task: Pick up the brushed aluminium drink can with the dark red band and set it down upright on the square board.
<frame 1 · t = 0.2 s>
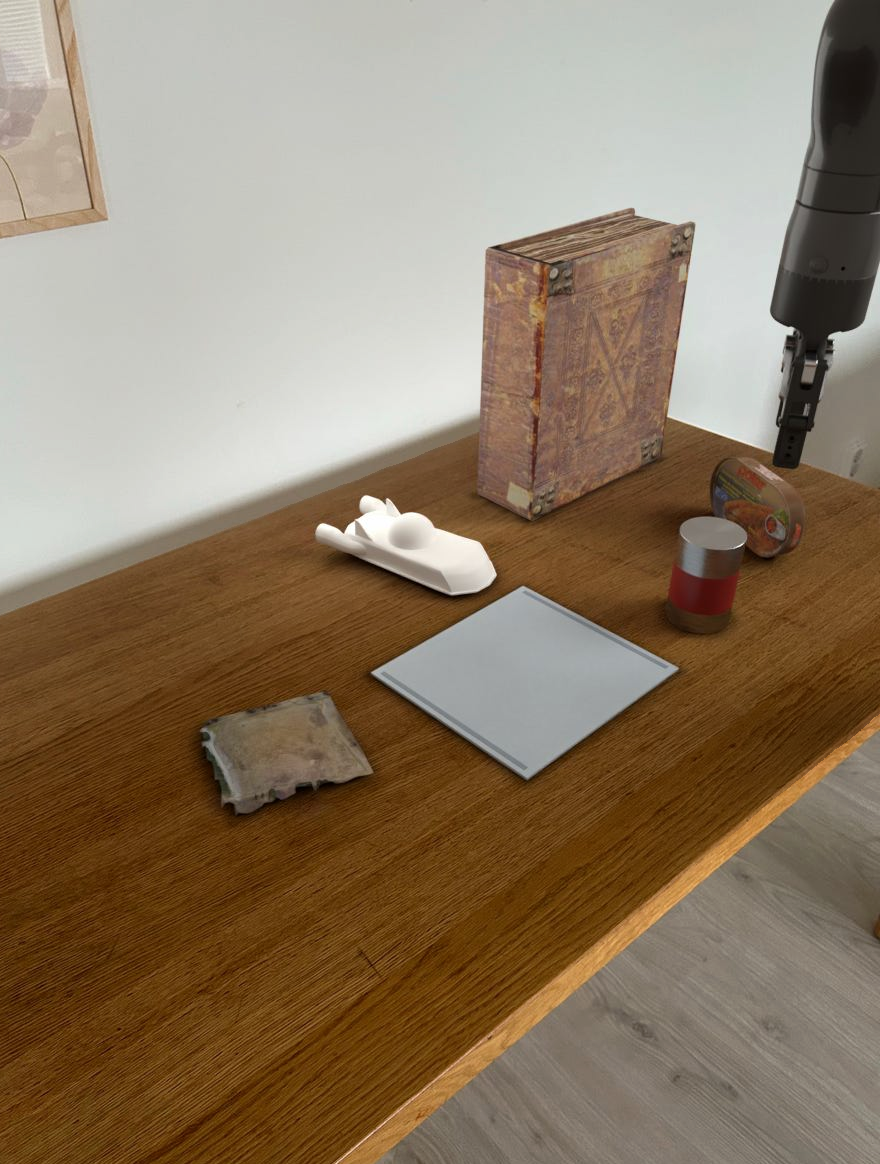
hand: (785, 446, 91), 20 cm above the table, tool pointing down, fingers open, 8 cm apart
parchment: (282, 753, 89), on the table
book: (571, 478, 131), on the table
square board: (524, 672, 98), on the table
can: (696, 616, 105), on the table
white toy spaceship: (413, 563, 114), on the table
tin: (748, 538, 118), on the table
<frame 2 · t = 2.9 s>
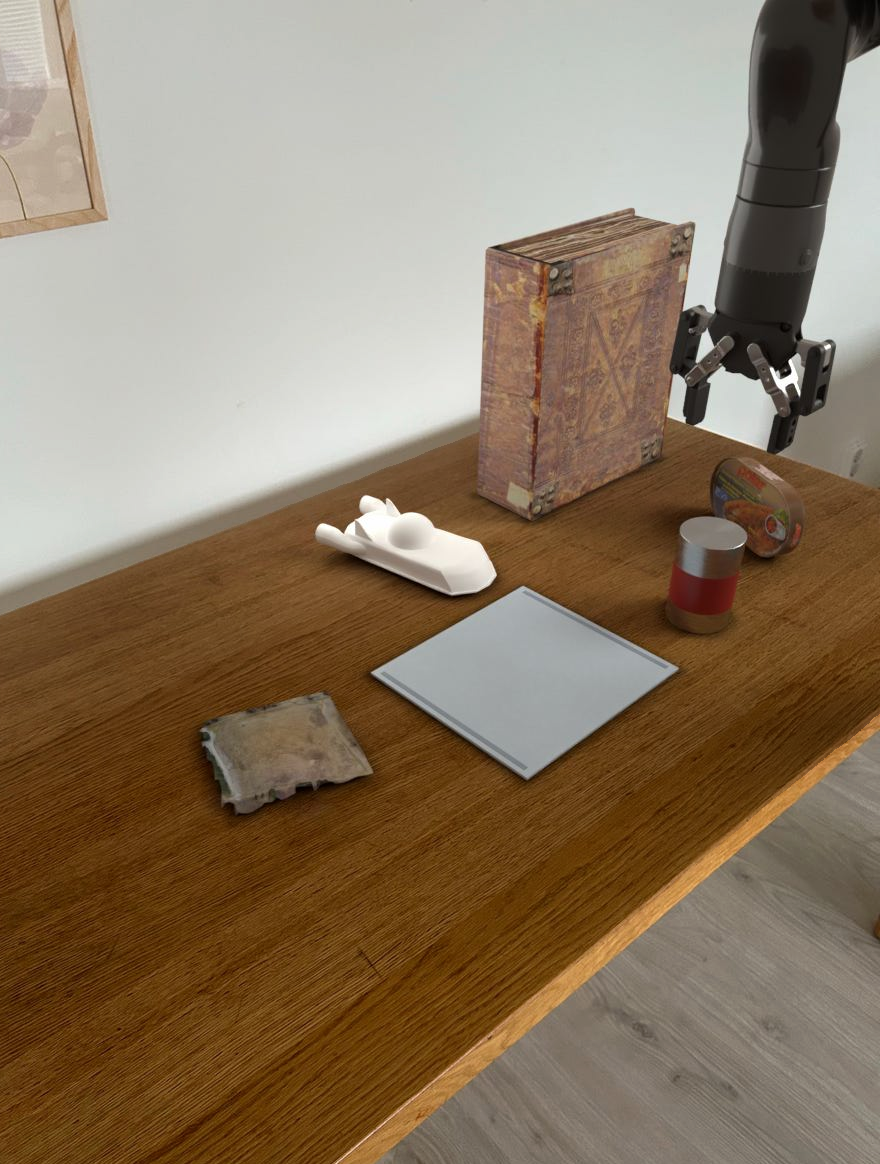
hand: (733, 436, 93), 20 cm above the table, tool pointing down, fingers open, 8 cm apart
nothing on the table moved.
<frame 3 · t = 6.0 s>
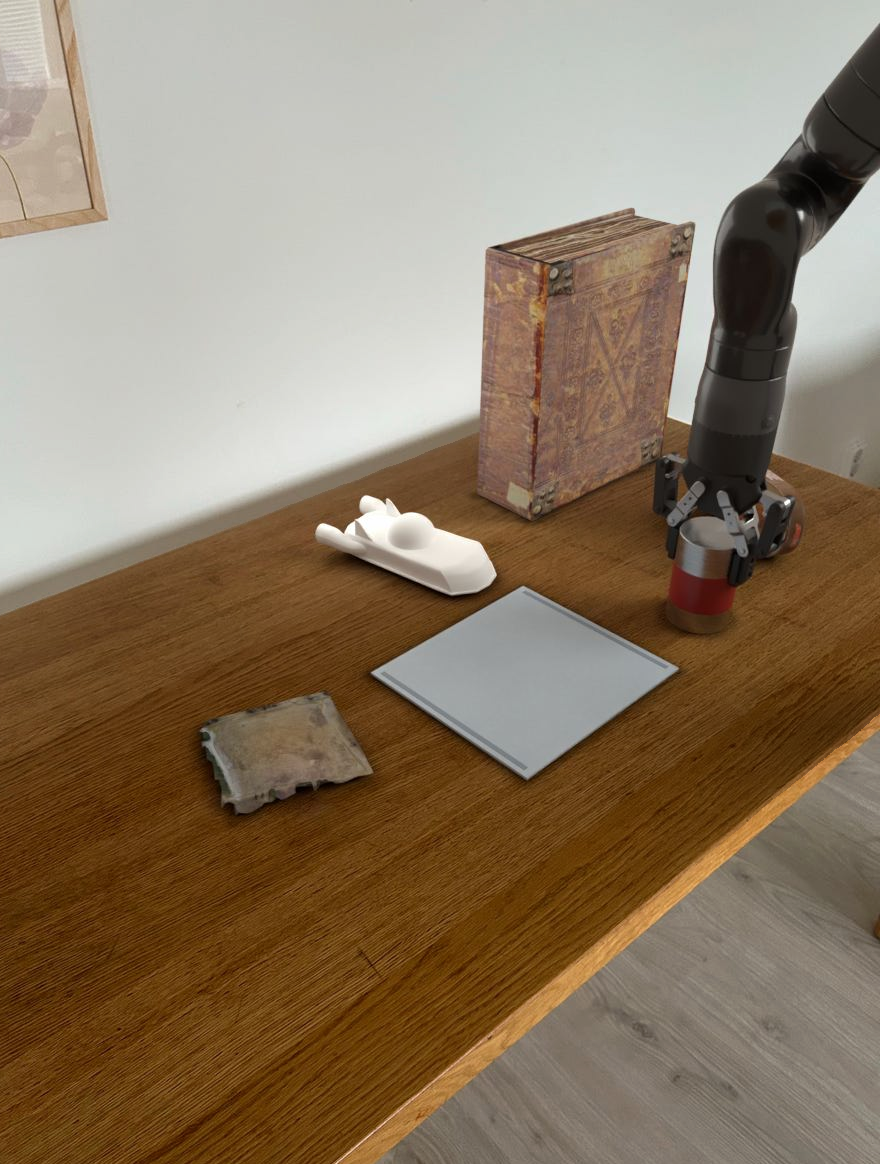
hand: (705, 569, 102), 6 cm above the table, tool pointing down, fingers closed on can, 6 cm apart
can: (696, 616, 105), on the table, touching gripper
everything else where it was.
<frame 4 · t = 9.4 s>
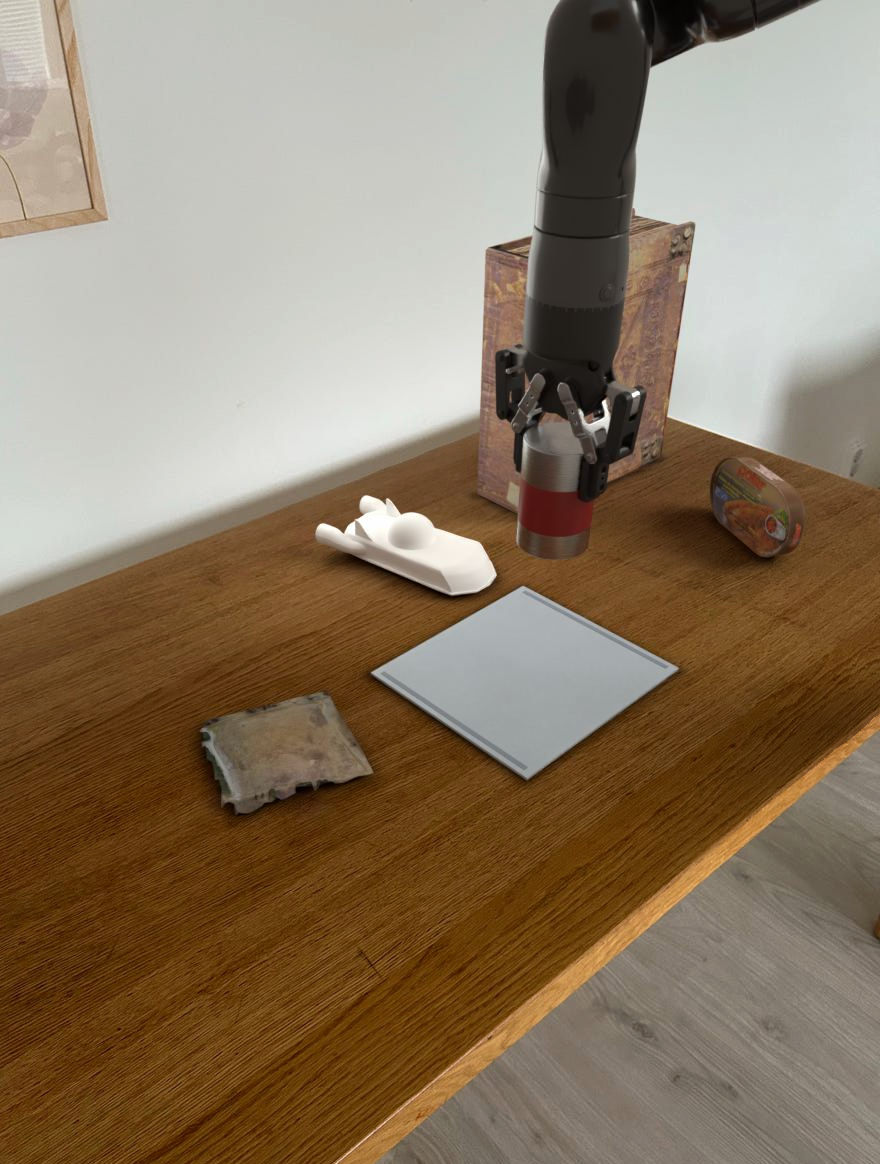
hand: (557, 483, 87), 20 cm above the table, tool pointing down, fingers closed on can, 6 cm apart
can: (552, 541, 90), point 14 cm above the table, touching gripper
everything else where it was.
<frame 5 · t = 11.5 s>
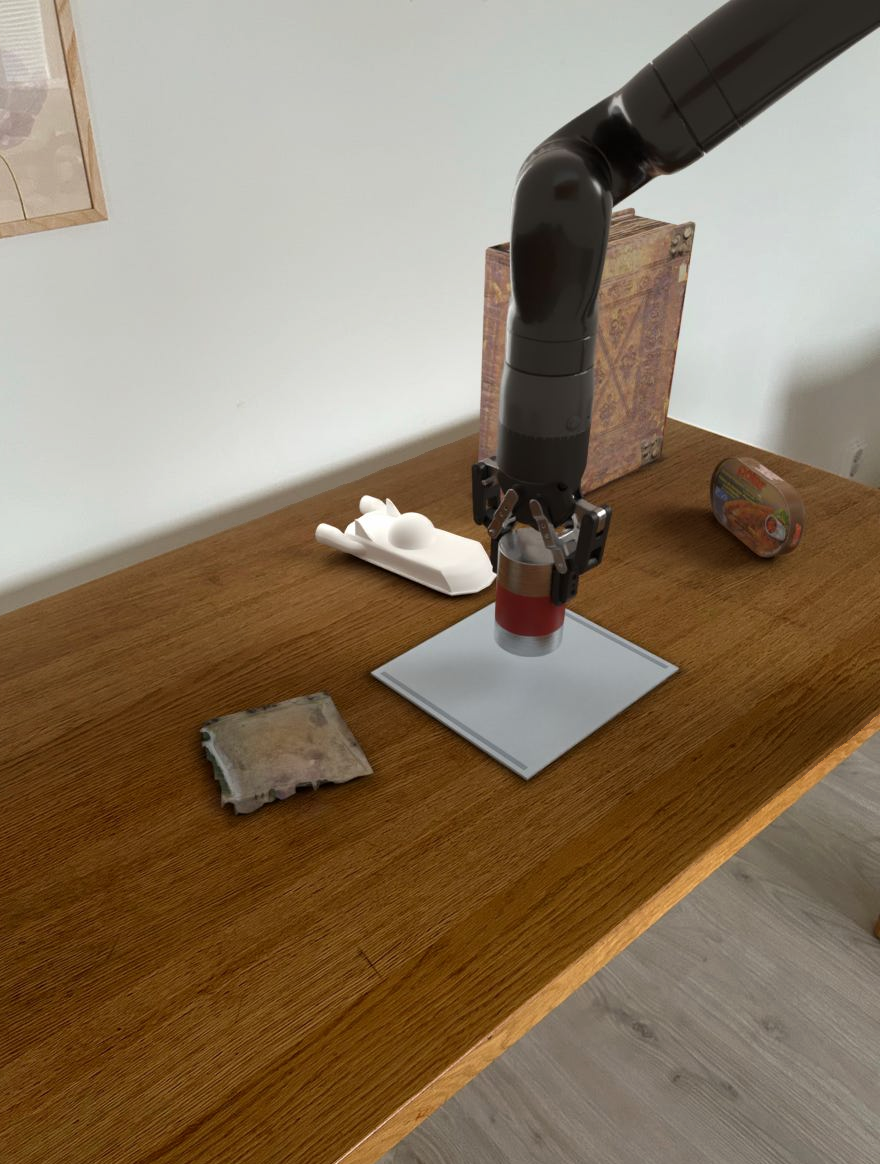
hand: (531, 585, 92), 10 cm above the table, tool pointing down, fingers closed on can, 6 cm apart
can: (527, 636, 95), point 4 cm above the table, touching gripper
everything else where it was.
when the fingers open (6 cm above the table, at t = 13.1 s): can stays where it is, resting on square board.
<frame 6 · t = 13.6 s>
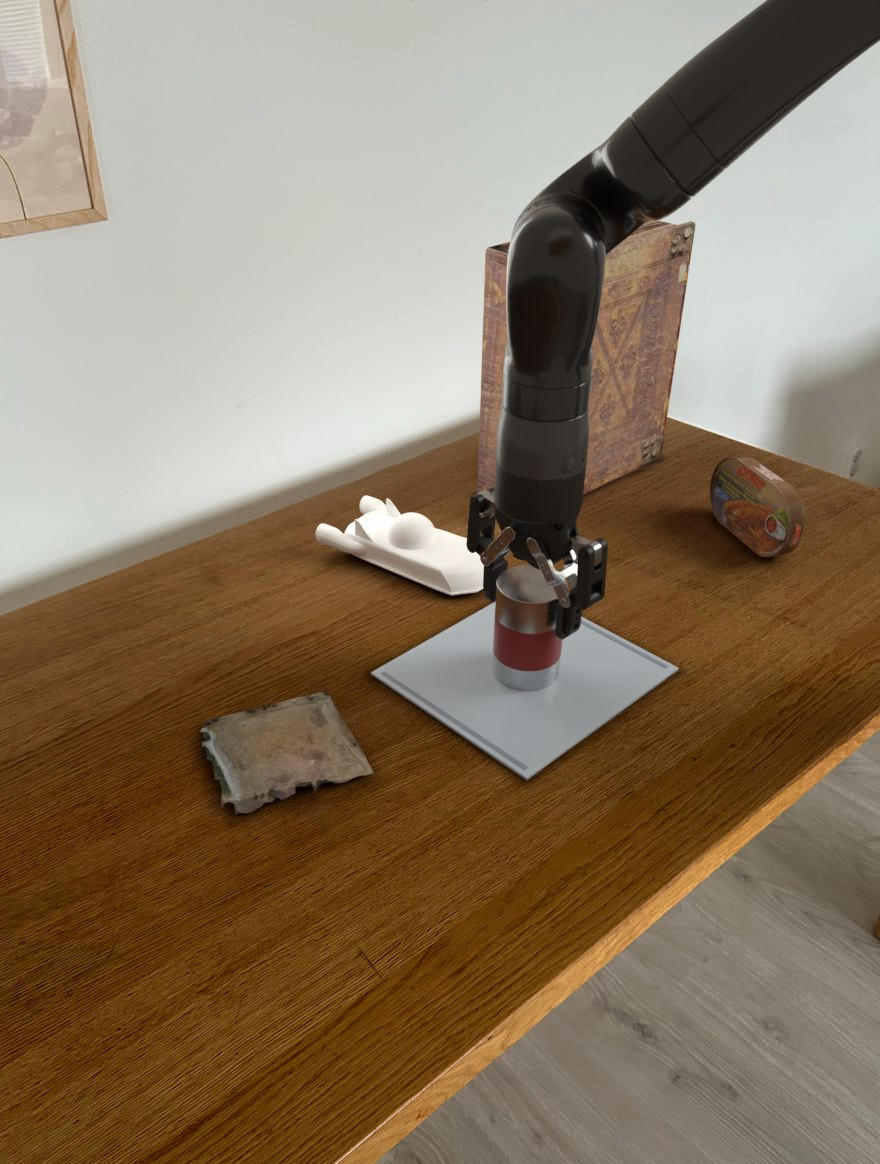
hand: (529, 615, 94), 7 cm above the table, tool pointing down, fingers open, 8 cm apart
can: (525, 670, 98), resting on square board
everything else where it was.
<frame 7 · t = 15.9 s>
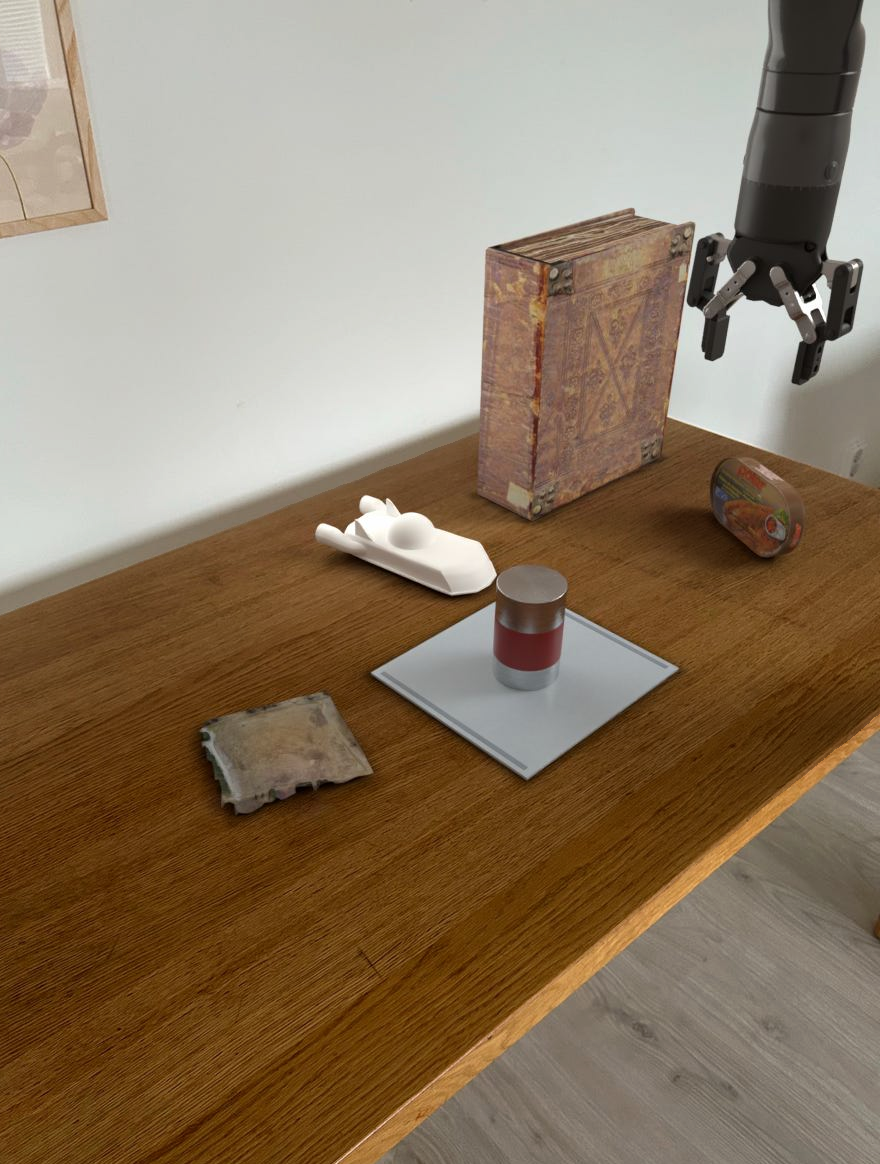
hand: (755, 369, 89), 26 cm above the table, tool pointing down, fingers open, 8 cm apart
nothing on the table moved.
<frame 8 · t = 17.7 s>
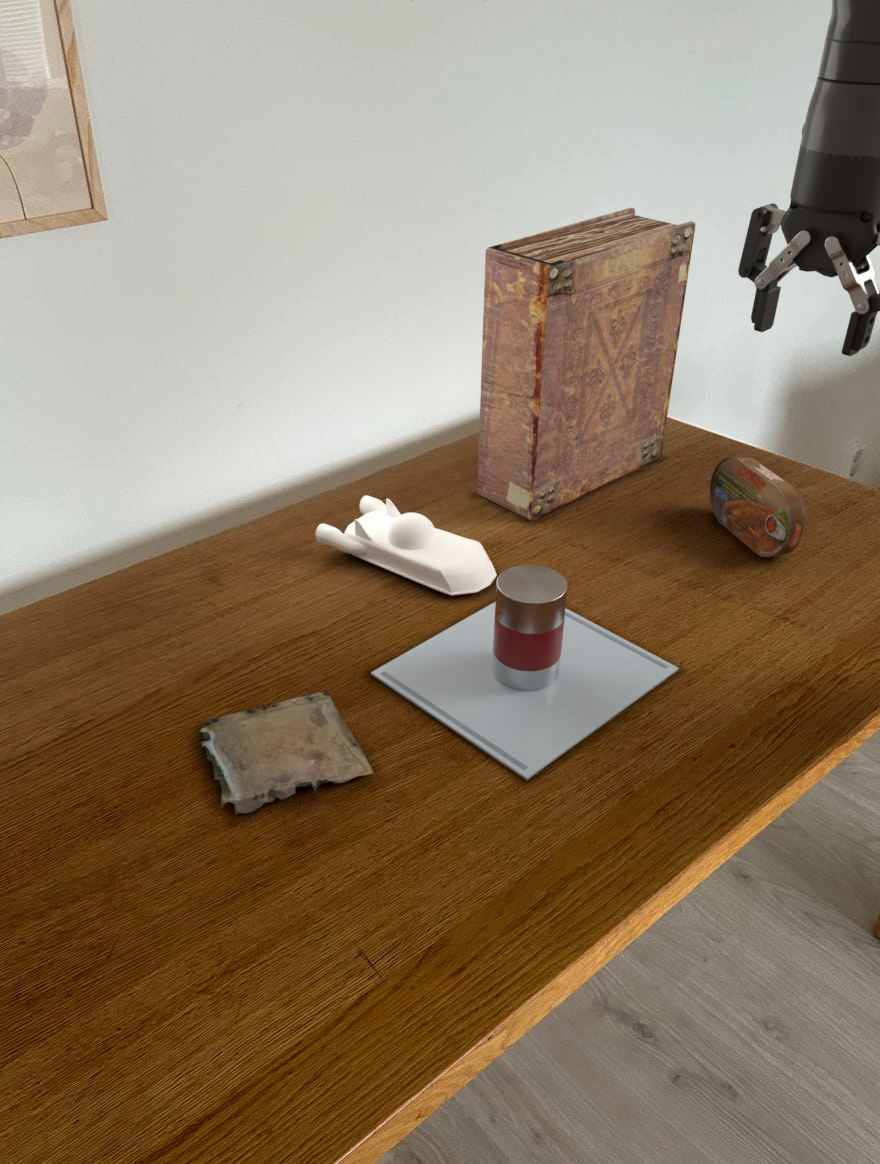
hand: (805, 341, 91), 28 cm above the table, tool pointing down, fingers open, 8 cm apart
nothing on the table moved.
at the end: can inside the target area on the square board (0.0 cm from its centre), point 0.3 cm above the square board's base; can tilted 0°; the gripper is holding nothing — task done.
